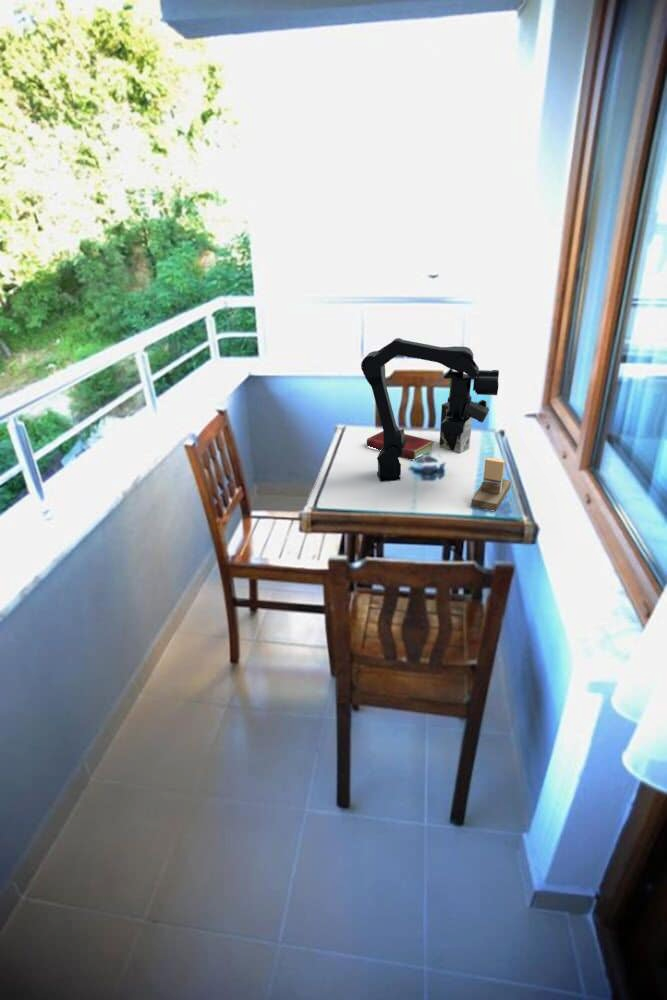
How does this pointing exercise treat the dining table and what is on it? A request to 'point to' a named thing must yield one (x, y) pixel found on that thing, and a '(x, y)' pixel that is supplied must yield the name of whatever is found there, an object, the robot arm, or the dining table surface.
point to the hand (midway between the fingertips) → (455, 444)
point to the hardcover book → (412, 446)
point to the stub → (494, 469)
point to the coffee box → (464, 439)
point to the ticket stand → (490, 494)
